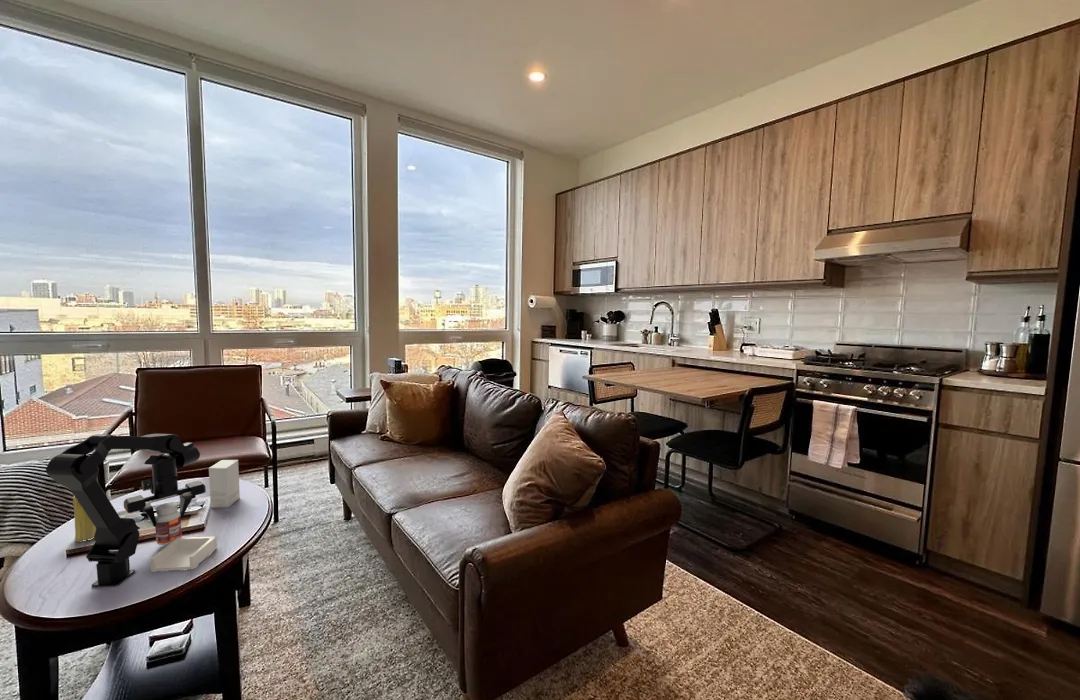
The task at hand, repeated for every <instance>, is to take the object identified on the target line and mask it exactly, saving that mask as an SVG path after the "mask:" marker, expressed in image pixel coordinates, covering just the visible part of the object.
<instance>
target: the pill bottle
mask: <svg viewBox="0 0 1080 700" xmlns="http://www.w3.org/2000/svg"><path fill="white" fill-rule="evenodd" d="M155 511H156V515H155V520H156V526H155V527H154V528H155V540H156V545H159V546H167V545H169V544H170V543H171V542H172V541H174V540H175V539H176V538H183V531H182V519H181V514H180V510H179V506H178V503H177V502H166V503H162V504H160V505H158V506H157V507H156V508H155Z"/></svg>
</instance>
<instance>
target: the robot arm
mask: <svg viewBox="0 0 1080 700" xmlns="http://www.w3.org/2000/svg"><path fill="white" fill-rule="evenodd" d="M112 450H140V451H142V452H147V453H152V454H153V453H154V454H159V455H154V454H153V455H152V454H151V455H150V456H149V457H148V458H147V459H146V460H145V461H144V462H143V463H144V465H150V466H151V471H152V481H151V479H150V478H148V479H145V480H141V489H142V491H143V492H145V491H149V490H150V494H151V495H149V496H147V497H144V496H143V495H141V494H140V495H136V496H131V497H127V498H125V499H124V500H123V508H124V510H125V511H126V513H128V514H132V513H135V512H139V513H145V514H146V515H147V517H148V519H149V521H150V523H151V524H152V526H153V527H154V528H155V526H156V520H155V517H156V515H155V510H154V507H153V506H152V505H151V503H155V502H159V501H163V500H167V499H171V498H174V497H178V496H179V512H180V514H181V520H182V519H183V518H184V515H185V514H186V512H187V509H188V507H189V505H190V504H191V502H192V500H193V499H196V497H197V496H198V495H202V494H205V493H206V492H207V491H206V485H205V484H204V483H203V482H201V481H200V480H196V481H192V482H187V483H185V486H184V487H183V488H179V485H178V483H179V482H178V481H179V479H178V469H181V468H183V467H186V466H188V465H190V464H192V463H193V464H194V463H195V462H197V461H198V460H199V459H200V457H201V452H200V451H199V449H198V448H197V447H196V446H194V443H193V442H184V443H183V442H182V441H181V440H180V439H179V435H178V434H175V433H150V434H145V435H141V436H135V435H134V436H133V435H130V436H129V435H114V434H102V433H97V434H92V435H91V436H90V435H89V437H87V438H86V439H85V440H84V441H82V442H80V443H78V444H75V445H73V446H71V447H68V448H66V449H65V450H64V451H62V452H61V453H59V454H57V455H55V456H54V457H52V458H51V459H50V460H49V462H48V464H47V466H46V467H45V471H46V474H47V476H49V477H50V478H51V479H52V480H53V481H55V483H56V484H58V485H60V486H63V487H64V488H67V489H69V490H70V491H71V493H72V494H73V497H74V496H75V497H76V499H77V500H78V502H79V503H80V505H81V506H82V508H83V509H84V511H85V512H86V514H87V515H88V517H89V518H90V520H91V521H92V523H93V524H94V526H95V527H96V531H95V534H94V539H93V540H94V544H93V545H92V547H91V548H90V549H89V551H88V552H87V554H86V556H85V557H86V559H87V561H88V562H94V563H95V562H97V563H96V577H97V580H96V581H94V582H93V583H91V587H92V588H93V587H110V586H119V585H120V584H121V583H123V582H124V581H125V580H126V579H128V578H130V576H132V575H133V574H134V573H135V572H137V571H136V569H130V568H131V565H130V557H132V556H134V555H135V554H136V552H137V547H138V543H139V540H140V535H141V534H140V531H139V530H140V529H141V527H140V526H138V525H137V524H136V520H135V519H134V518H132V517H131V518H129V517H120V515H119V514H118V513H117V510H116V509H115V507H114V506H113V504H112V502H111V501H110V499H109V497H108V496H107V494H106V493H105V491H104V489H103V488H102V486H101V485H100V483H99V482H98V475H99V471H100V469H99V466H100V465H102V463H103V462H105V461H106V459H107V456H108V454H109V452H110V451H112ZM90 453H91V454H90Z"/></svg>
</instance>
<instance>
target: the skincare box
mask: <svg viewBox="0 0 1080 700" xmlns="http://www.w3.org/2000/svg"><path fill="white" fill-rule="evenodd" d="M239 472H240V471H239V459H221V460H219V461H218V462H216V463H215V464H213V465H211V466H210V467H208V477H209V478H208V479H209V480H208V481H209V498H210V503H209V504H210V509H215V508H216V509H217V508H219V509H220V508H229V507H230V506H232V505H233V504H234V503H235V502H236V501H238V500H239V499H240V497H241V495H240V494H241V491H240V473H239Z"/></svg>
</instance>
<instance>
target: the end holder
mask: <svg viewBox="0 0 1080 700" xmlns="http://www.w3.org/2000/svg"><path fill="white" fill-rule="evenodd" d="M217 545H218V542H217V536H215V535H212V536H195V537H194V536H193V537H189V536H188V537H181V538H176V539H175V540H174V541H172V542H171V543H170V544H168V545H165V547H163V548H162V549H161V550H160V551H158V552H157V553H156V554H154V555H152V557H150V559H149V560H150V572H151V573H152V572H153V573H158V572H157V571H161V572H169V571H168V570H180V571H187V570H186V569H194V568H195V567H196V566H197V565H198V564H199V563H200V562H202V561H203V560H204V559H205V558H206V557H207V556H208V555H209V554H210V553H211V552H212V551H214V550H215V549H216V548H218V546H217ZM216 550H217V549H216ZM216 550H215V551H216ZM215 551H214V552H215ZM211 554H212V553H211ZM211 554H210V555H211ZM210 555H209V556H210ZM209 556H208V557H209ZM208 557H207V558H208ZM207 558H206V559H207ZM206 559H205V560H206ZM205 560H204V561H205ZM204 561H203V562H204ZM203 562H202V563H203ZM196 568H197V567H196ZM196 568H195V569H196ZM184 569H185V570H184ZM195 569H194V570H195Z"/></svg>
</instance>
